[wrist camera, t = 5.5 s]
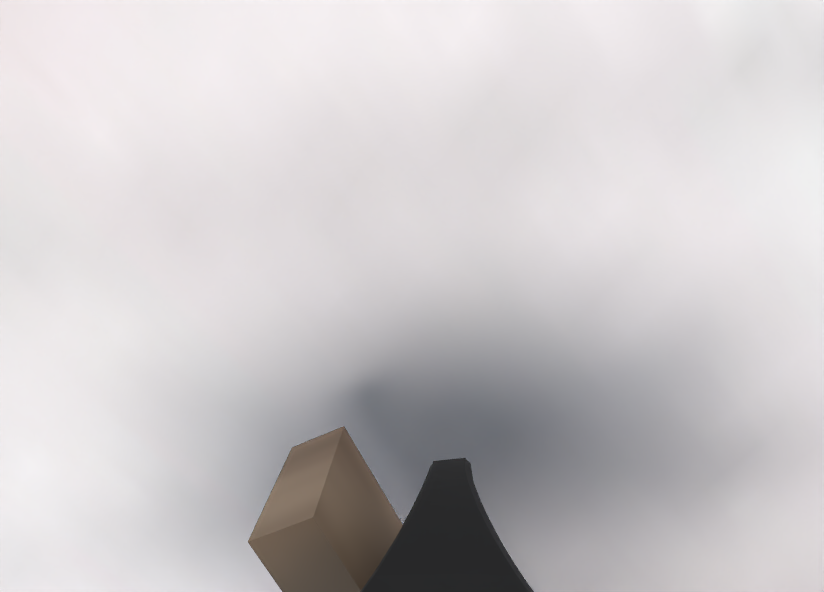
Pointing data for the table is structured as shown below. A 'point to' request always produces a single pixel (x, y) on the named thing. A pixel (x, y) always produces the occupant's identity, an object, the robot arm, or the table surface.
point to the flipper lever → (324, 519)
